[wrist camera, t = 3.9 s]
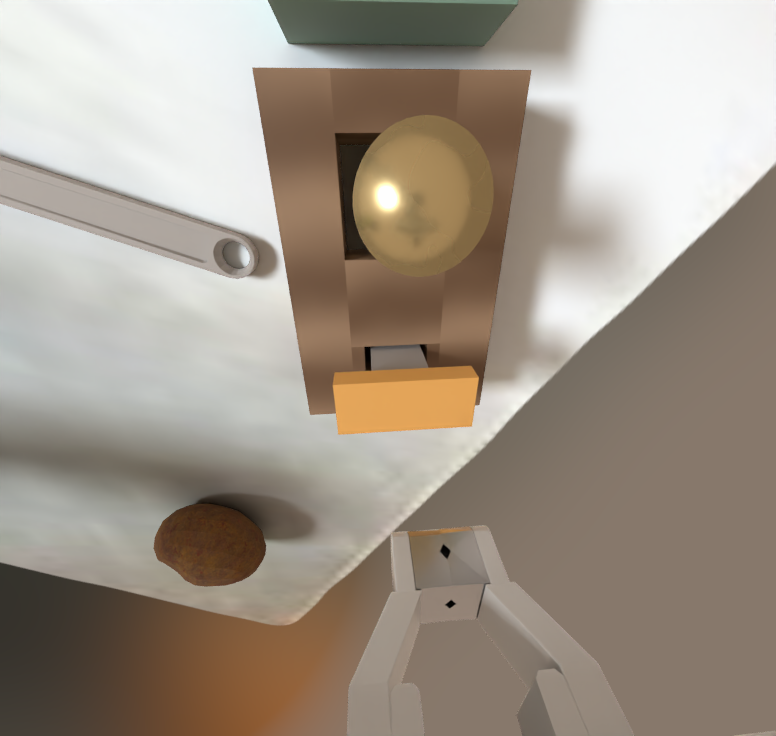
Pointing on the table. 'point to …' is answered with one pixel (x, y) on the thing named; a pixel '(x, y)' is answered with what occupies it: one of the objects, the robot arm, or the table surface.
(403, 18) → the green square frame
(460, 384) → the block
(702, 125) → the table surface
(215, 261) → the adjustable wrench
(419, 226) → the gold rounded cylinder
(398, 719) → the robot arm
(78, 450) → the table surface
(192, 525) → the potato
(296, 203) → the socket block
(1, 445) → the table surface
